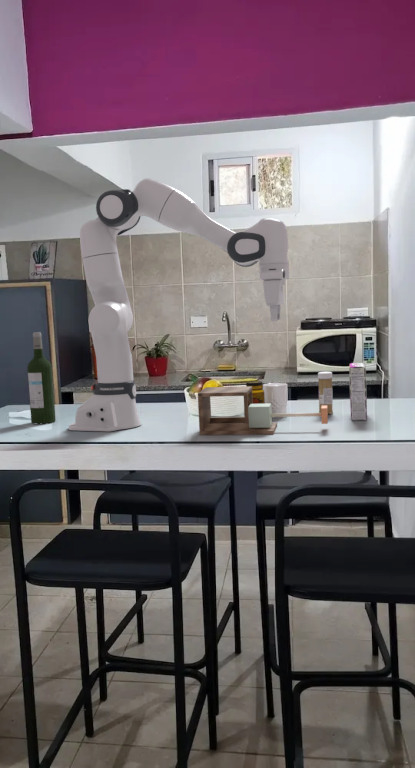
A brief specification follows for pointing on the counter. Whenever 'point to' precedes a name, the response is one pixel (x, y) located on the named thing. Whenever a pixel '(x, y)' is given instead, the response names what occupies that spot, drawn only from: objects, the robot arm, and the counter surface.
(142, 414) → the counter surface
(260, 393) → the condiment
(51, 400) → the wine bottle
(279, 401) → the white cup
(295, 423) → the counter surface
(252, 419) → the mallet
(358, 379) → the candy bar box
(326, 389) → the sprinkles bottle
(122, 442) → the counter surface
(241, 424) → the shelf
